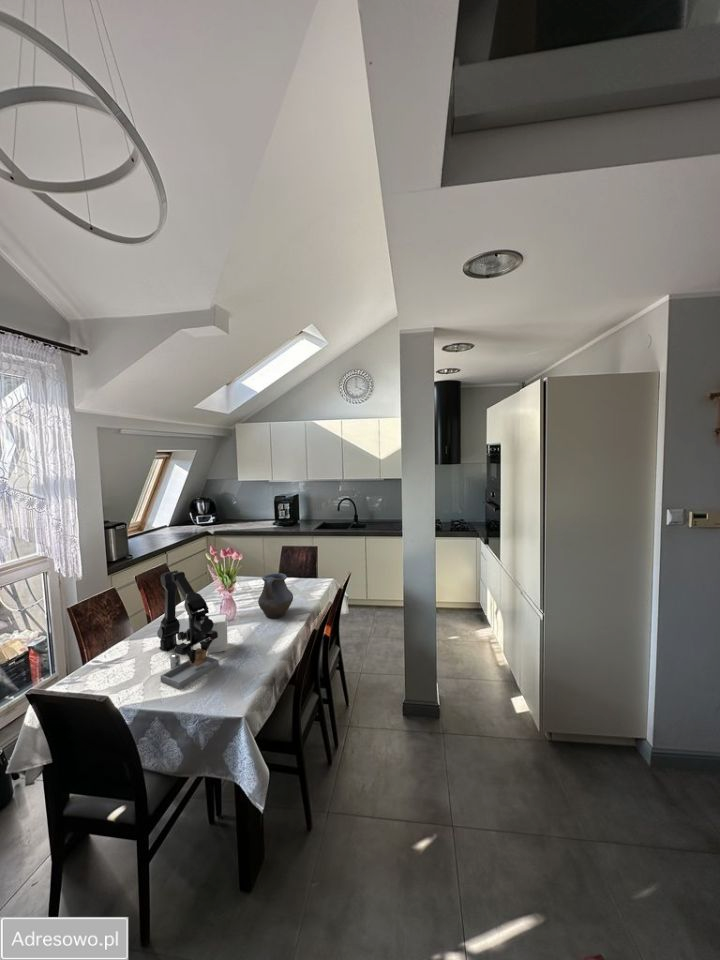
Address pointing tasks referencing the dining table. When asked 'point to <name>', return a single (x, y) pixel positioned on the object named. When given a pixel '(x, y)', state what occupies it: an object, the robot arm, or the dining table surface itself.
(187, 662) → the tray
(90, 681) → the dining table surface
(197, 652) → the walnut block
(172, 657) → the steel peg
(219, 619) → the supplement box
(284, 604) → the pitcher
